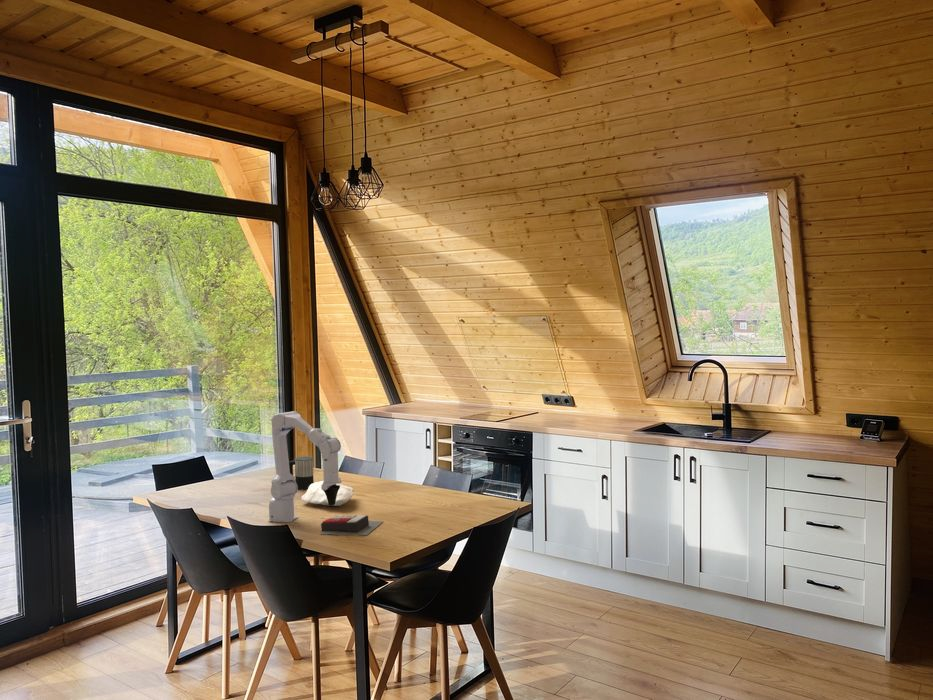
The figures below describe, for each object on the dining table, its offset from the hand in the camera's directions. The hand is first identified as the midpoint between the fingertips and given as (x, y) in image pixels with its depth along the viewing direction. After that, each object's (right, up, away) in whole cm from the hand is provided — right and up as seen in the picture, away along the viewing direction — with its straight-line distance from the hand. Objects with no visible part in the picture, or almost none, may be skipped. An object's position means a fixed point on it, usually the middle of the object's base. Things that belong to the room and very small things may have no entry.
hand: (331, 504), depth 287 cm
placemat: (+8, -9, -1) cm, 12 cm away
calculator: (-2, -7, 0) cm, 8 cm away
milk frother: (-30, -8, +73) cm, 79 cm away
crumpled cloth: (-7, -8, +42) cm, 43 cm away
